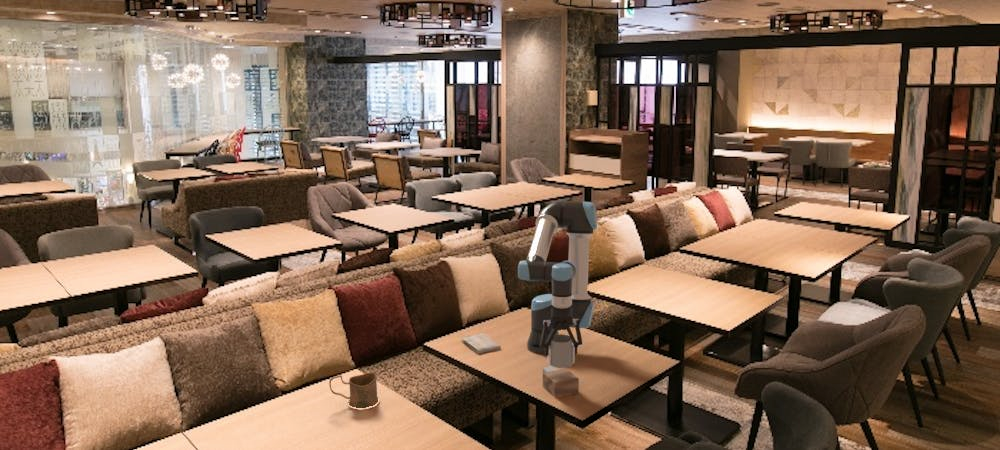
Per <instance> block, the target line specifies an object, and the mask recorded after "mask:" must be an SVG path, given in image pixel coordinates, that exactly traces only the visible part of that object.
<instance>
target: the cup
mask: <svg viewBox="0 0 1000 450" xmlns="http://www.w3.org/2000/svg"><path fill="white" fill-rule="evenodd" d="M572 345H573V342H572V340H571V338H570V336H569V334H568V335H567V334H560V333H559V334H557V335H555V336H554V338H553V340H551V344H550V348H551V365H550V367H551V366H553V367H556V368H557V369H567V368H569V367H571V366H572V365H573V364H572Z"/></svg>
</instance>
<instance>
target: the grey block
mask: <svg viewBox="0 0 1000 450" xmlns="http://www.w3.org/2000/svg"><path fill="white" fill-rule="evenodd" d="M555 370H559V368H557V367H553V366H551V365H550V366H547V367H542V374H543V373H545V372H550V371H555Z"/></svg>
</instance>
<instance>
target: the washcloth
mask: <svg viewBox="0 0 1000 450" xmlns="http://www.w3.org/2000/svg"><path fill="white" fill-rule="evenodd" d="M461 342H462V344H464V345H465V346H466V347H467V348H469V349H470V350H471V351H472V352H474V353H475V354H477V355H480V354H485V353H488V352H493V351H494V352H495V351H499V350H501V348H502V347H501V344H499V343H497V341H495V340H494V339H492V337H490V336H487V334H485V333H484V332H481V333H478V334H472V335H465V336H462V338H461Z"/></svg>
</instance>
